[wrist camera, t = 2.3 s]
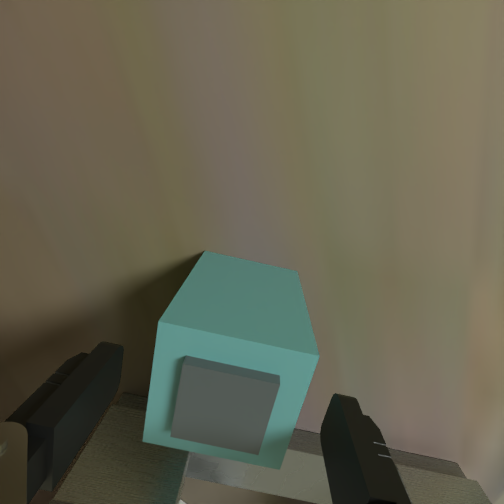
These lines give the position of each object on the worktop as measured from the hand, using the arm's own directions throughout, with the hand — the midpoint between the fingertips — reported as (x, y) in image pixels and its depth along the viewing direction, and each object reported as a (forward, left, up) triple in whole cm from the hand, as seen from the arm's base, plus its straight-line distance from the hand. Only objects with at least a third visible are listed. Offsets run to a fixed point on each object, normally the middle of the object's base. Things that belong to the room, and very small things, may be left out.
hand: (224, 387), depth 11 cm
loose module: (-1, 0, -6) cm, 6 cm away
